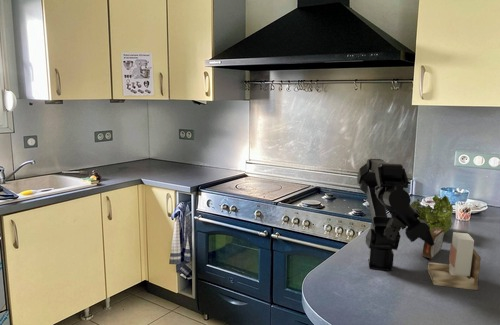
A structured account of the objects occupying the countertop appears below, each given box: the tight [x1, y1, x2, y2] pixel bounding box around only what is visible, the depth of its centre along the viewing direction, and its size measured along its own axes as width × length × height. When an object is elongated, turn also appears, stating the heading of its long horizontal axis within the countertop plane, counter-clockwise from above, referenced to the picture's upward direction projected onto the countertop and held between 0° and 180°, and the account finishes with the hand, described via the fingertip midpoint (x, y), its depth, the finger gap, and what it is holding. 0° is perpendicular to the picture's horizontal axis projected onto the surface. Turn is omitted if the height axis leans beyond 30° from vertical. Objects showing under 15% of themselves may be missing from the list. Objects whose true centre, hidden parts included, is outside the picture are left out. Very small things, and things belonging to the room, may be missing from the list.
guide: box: [426, 248, 482, 291], centre depth 119 cm, size 11×10×9 cm
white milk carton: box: [448, 231, 475, 277], centre depth 118 cm, size 4×6×12 cm
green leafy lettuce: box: [410, 194, 454, 235], centre depth 158 cm, size 18×16×16 cm
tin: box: [422, 228, 445, 260], centre depth 137 cm, size 15×3×8 cm, turn 141°
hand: (432, 244), depth 119 cm, fingers closed
